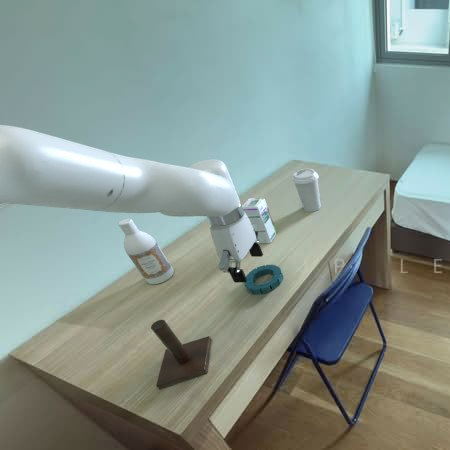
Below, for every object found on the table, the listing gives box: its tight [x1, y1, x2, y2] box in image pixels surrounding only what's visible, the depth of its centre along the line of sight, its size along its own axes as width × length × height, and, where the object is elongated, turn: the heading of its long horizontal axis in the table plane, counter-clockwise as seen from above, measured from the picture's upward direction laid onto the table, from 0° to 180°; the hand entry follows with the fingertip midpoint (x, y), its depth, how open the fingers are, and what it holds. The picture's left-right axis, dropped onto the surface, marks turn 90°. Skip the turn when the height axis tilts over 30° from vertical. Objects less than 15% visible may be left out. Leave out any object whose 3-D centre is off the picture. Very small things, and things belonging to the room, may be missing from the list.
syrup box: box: [242, 197, 278, 244], centre depth 102 cm, size 6×6×14 cm
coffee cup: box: [291, 168, 322, 213], centre depth 118 cm, size 10×10×15 cm
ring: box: [243, 264, 284, 295], centre depth 88 cm, size 10×10×2 cm
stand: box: [150, 319, 212, 390], centre depth 65 cm, size 9×9×14 cm
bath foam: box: [117, 218, 175, 285], centre depth 86 cm, size 7×7×20 cm
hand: (249, 268), depth 81 cm, fingers open, 9 cm apart
